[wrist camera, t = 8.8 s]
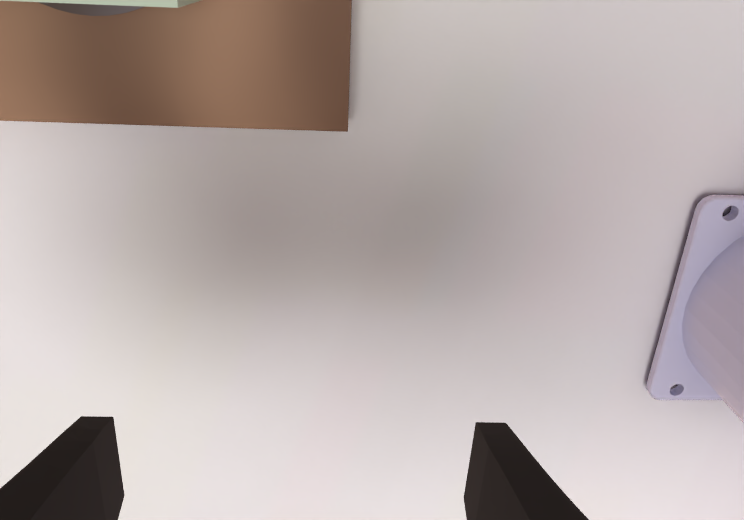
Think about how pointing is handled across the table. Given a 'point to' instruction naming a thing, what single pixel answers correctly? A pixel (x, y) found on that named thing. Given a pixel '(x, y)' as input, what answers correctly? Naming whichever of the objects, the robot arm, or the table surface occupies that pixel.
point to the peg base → (178, 64)
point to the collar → (122, 2)
